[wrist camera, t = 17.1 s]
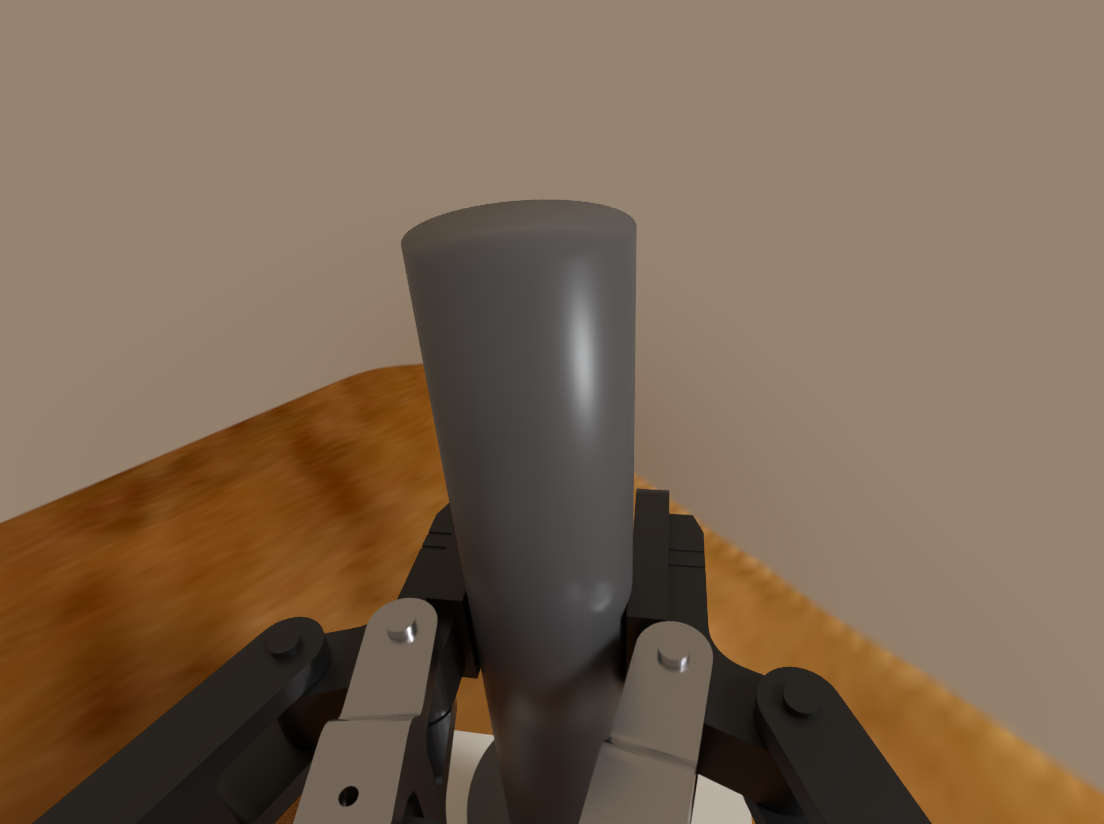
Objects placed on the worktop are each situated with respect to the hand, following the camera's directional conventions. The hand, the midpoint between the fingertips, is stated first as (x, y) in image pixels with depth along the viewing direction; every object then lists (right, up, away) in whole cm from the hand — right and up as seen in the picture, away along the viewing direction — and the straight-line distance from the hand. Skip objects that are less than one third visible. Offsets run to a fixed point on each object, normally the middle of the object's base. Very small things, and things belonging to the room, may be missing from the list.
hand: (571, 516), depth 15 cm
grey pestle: (0, -10, +3) cm, 11 cm away
